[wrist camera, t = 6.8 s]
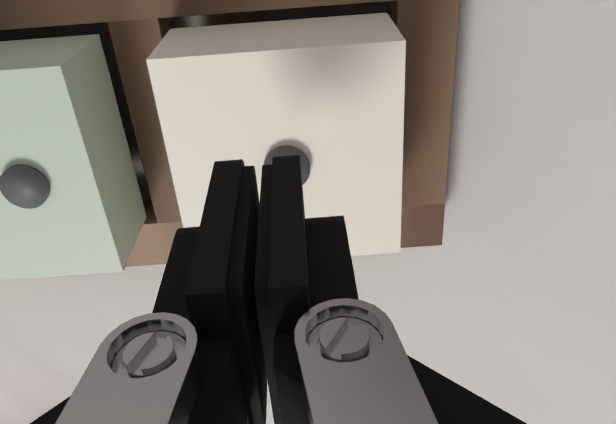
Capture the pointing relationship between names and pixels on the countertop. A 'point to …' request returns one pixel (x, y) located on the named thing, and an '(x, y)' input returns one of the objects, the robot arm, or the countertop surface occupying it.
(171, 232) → the board
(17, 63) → the tile two
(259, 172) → the tile one
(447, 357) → the countertop surface
